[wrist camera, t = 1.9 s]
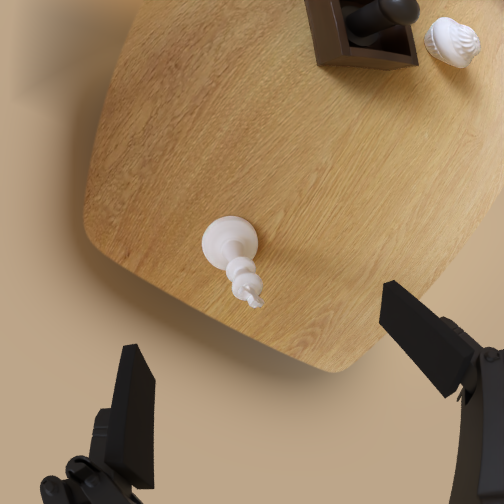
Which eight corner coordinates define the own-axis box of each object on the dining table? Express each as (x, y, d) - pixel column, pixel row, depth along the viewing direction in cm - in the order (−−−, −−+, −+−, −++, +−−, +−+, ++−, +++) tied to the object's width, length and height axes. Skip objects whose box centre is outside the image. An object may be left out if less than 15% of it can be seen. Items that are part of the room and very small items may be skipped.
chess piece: (226, 204, 24) (250, 248, 15) (268, 237, 26) (311, 294, 17) (190, 248, 25) (194, 314, 16) (233, 277, 27) (257, 348, 18)
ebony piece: (335, 46, 20) (396, 20, 12) (326, 6, 18) (380, -30, 10) (374, 51, 20) (439, 34, 12) (366, 12, 19) (425, -14, 11)
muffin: (439, 24, 20) (481, 16, 14) (454, 69, 23) (497, 68, 16) (407, 21, 20) (451, 8, 13) (424, 70, 22) (471, 66, 16)
